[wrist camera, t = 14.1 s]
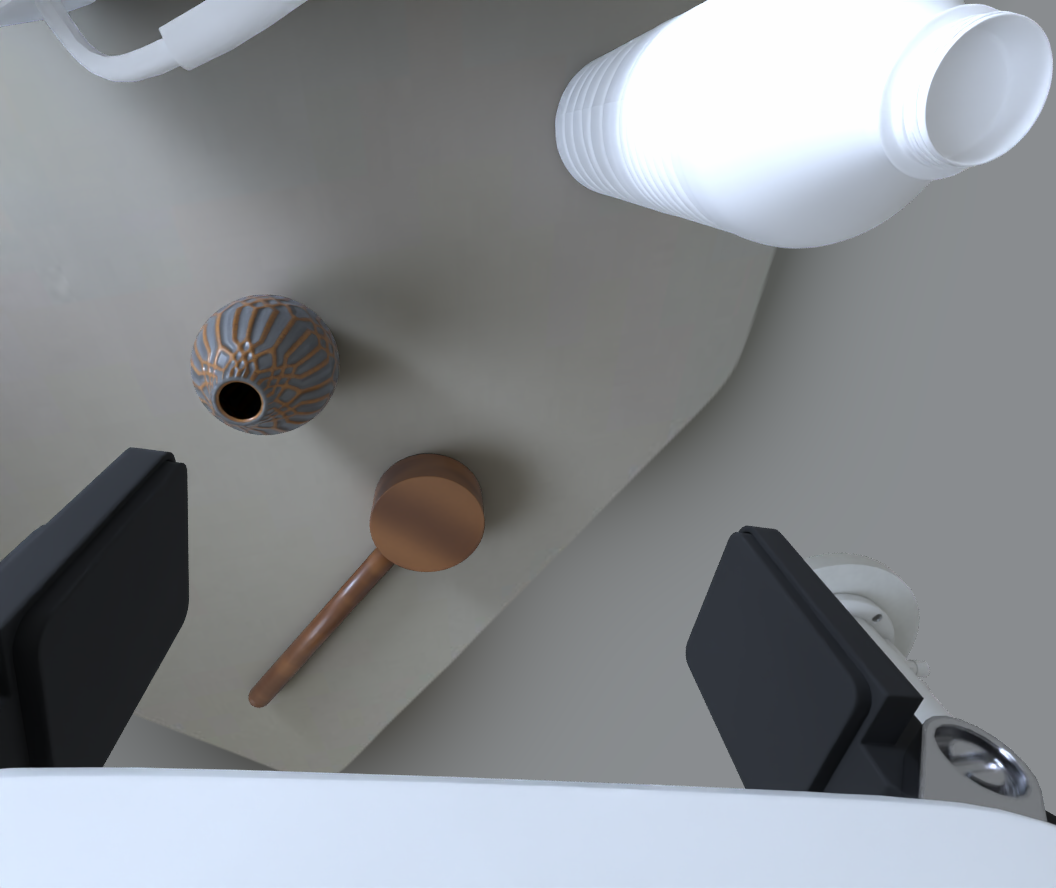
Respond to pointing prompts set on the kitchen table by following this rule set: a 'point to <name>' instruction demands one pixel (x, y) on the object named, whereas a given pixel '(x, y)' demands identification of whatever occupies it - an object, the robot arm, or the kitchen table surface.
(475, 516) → the ladle
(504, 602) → the kitchen table surface
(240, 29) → the white plastic wash basin
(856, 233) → the water bottle
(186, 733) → the kitchen table surface
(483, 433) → the kitchen table surface
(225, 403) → the vase
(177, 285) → the kitchen table surface
